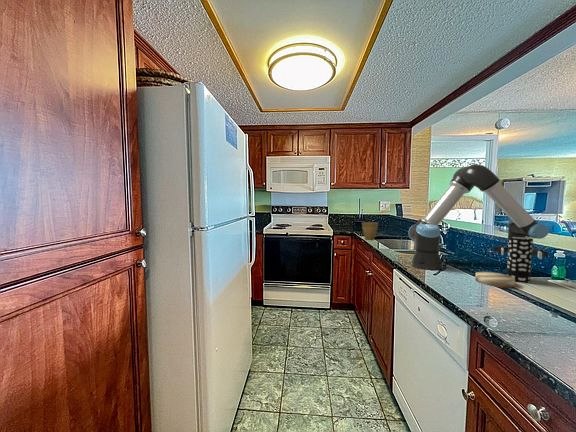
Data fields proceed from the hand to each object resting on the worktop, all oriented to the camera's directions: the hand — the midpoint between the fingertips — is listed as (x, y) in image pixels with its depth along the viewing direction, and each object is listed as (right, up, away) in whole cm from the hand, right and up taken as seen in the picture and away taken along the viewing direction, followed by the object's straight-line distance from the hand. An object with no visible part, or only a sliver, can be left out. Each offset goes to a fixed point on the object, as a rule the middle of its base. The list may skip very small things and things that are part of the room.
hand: (521, 254), depth 122 cm
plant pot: (-34, -4, +120) cm, 125 cm away
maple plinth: (-17, -12, -5) cm, 21 cm away
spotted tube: (-3, -12, -1) cm, 13 cm away
